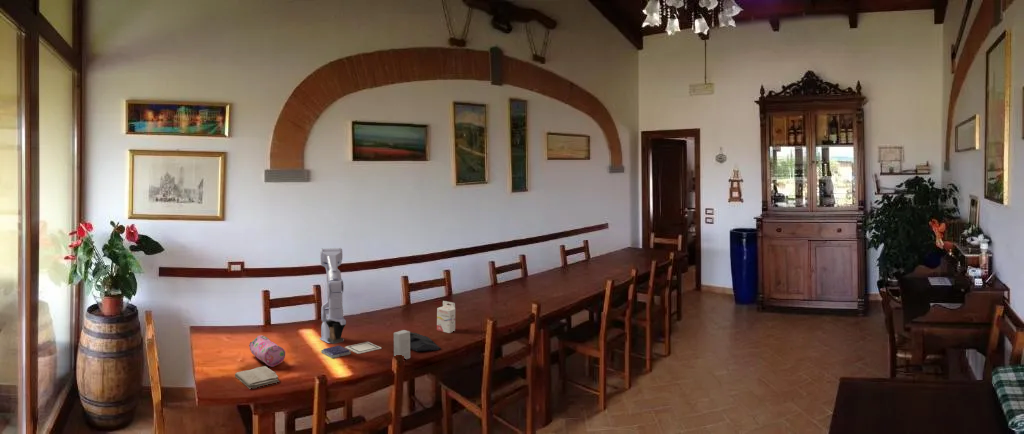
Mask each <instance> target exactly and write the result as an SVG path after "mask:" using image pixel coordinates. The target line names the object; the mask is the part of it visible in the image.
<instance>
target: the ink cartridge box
mask: <svg viewBox="0 0 1024 434" xmlns="http://www.w3.org/2000/svg"><path fill="white" fill-rule="evenodd" d="M436 331H439V332H443V333H446V334H451V333H453V331H454V332H456V303H455V302H452V301H447V300H442V306H440V307H437V308H436Z"/></svg>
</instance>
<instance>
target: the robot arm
mask: <svg viewBox="0 0 1024 434" xmlns="http://www.w3.org/2000/svg"><path fill="white" fill-rule="evenodd" d="M319 253H320V256H319V257H320V266H321V267H323V268H325V272H326V299H327V300H326V302H325V303H323V304H322V305H321V313H320V314H321V315H320V317H321V322H322V323H321V333H320V334H321V336H320V337H319V340H321V341H323V342H324V343H328V344H331V343H330V342H328V338H330V327H334V331H335V337H336V339H339V338H342V336H343V335H342V334H343V331H344V328H345V326H346V325H347V321H346V319H345V318H344V309H343V293H344V291H345V289H344V288H345V287H344V285H345V284H344V280H343V279H342V274H341V273H342V271H341V270H340V269H338V267H339V266H341V265H342V262H343V249H342V248H341V247H337V248H336V247H334V248H320V250H319ZM344 340H345V339H344V338H343V341H344Z"/></svg>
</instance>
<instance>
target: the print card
mask: <svg viewBox="0 0 1024 434" xmlns="http://www.w3.org/2000/svg"><path fill="white" fill-rule="evenodd" d="M344 348H346V349H348V350H349V351H351V352H353V353H355V354H358V355H359V354H364V353H369V352H373V351H376V350H381V349H382V347H381V346H379V345H376V344H374V343H372V342H370V341H365V342H361V343H357V344H356V343H355V344H352V345H347V346H344Z"/></svg>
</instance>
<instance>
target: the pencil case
mask: <svg viewBox="0 0 1024 434" xmlns="http://www.w3.org/2000/svg"><path fill="white" fill-rule="evenodd" d="M248 346H249V350H250V353H251V354H252V355H253V356H254V357H255V358H256V359H258V360H260V361H261V362H262V363H265V364H266V365H267V367H268V366H269V367H272V368H273V367H276V366H279V365H280V364H281V363H282V362H283V361H284V360H285V357H286V350H285V349H284V348H283V347H282V346H279V345H278V344H277V343H275V342H273V341H271V340H270V338H268V337H267V336H265V335H257V336H256V338H254V339H253V340H252V341H250V343H249V345H248Z"/></svg>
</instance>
